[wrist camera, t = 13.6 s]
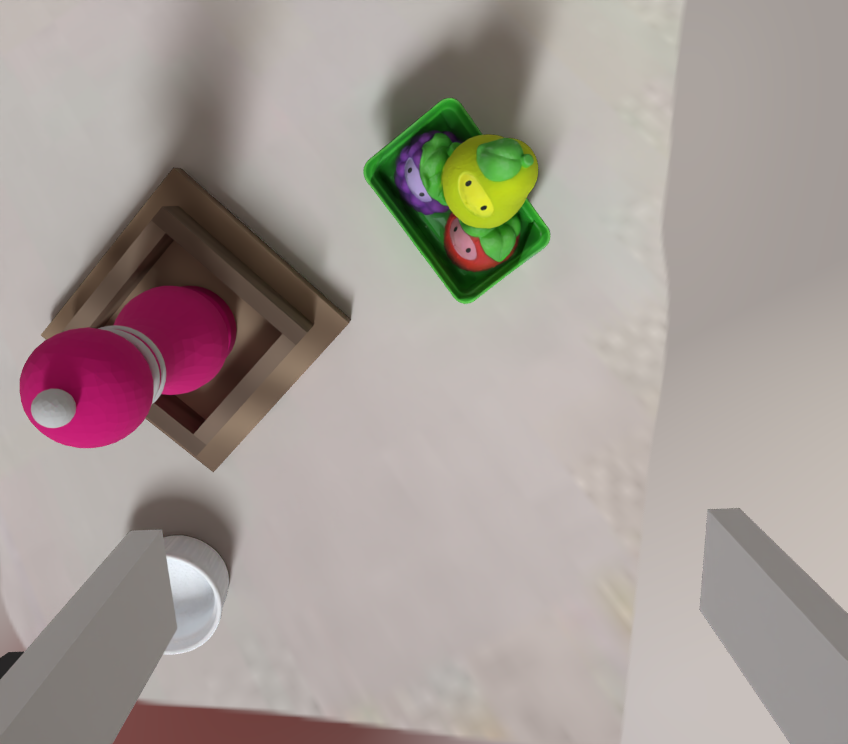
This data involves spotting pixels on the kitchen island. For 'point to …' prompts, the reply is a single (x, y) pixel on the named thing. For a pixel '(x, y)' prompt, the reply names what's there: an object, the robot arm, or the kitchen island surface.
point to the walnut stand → (241, 290)
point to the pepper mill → (126, 365)
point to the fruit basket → (461, 198)
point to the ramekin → (194, 591)
